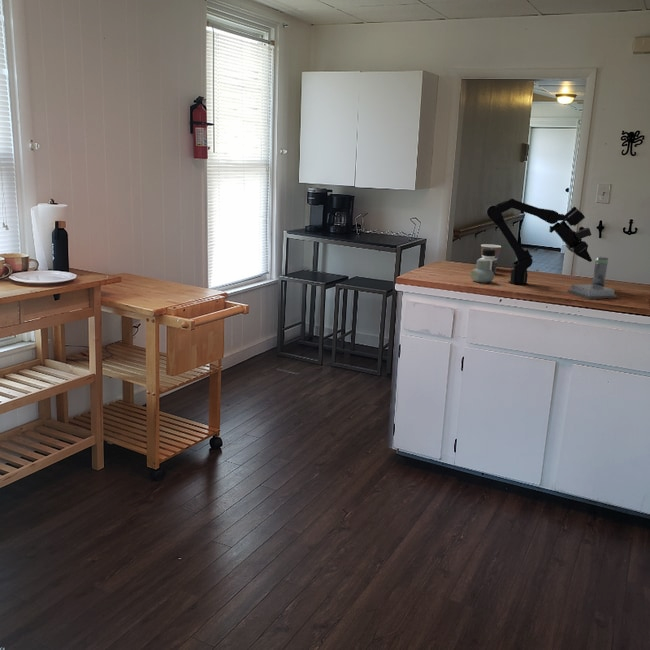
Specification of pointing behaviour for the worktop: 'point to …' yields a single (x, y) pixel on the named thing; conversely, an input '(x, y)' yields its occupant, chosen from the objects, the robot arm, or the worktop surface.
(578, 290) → the metal stand
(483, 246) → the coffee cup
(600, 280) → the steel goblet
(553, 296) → the worktop surface
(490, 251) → the medicine bottle
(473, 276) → the air freshener
